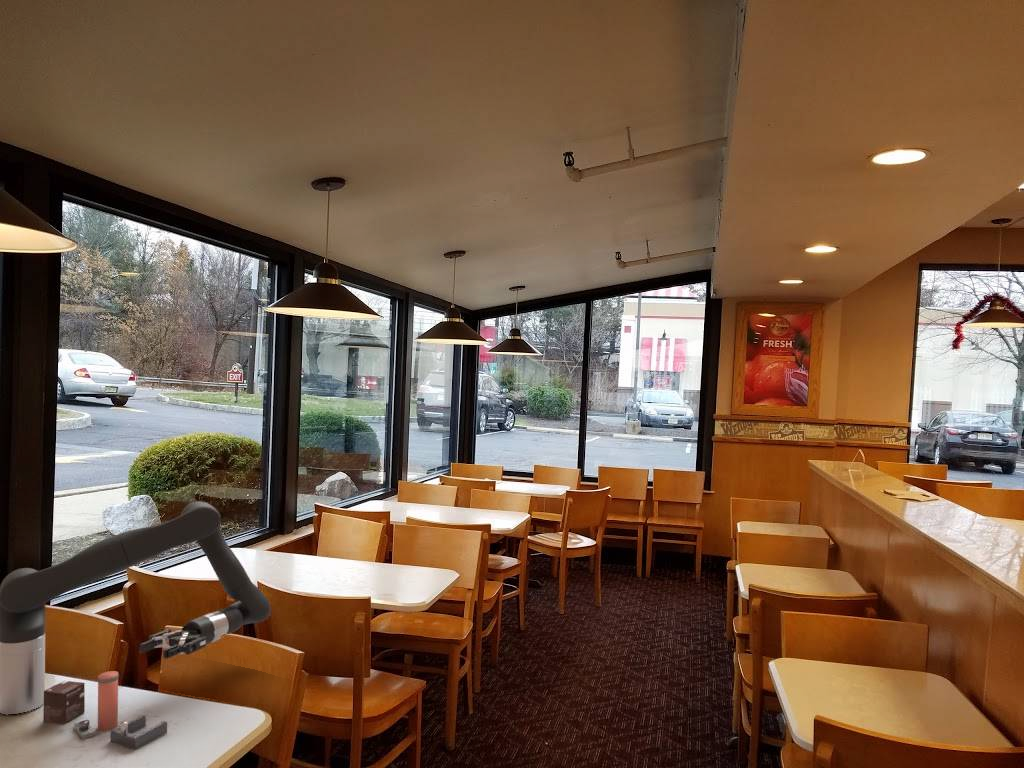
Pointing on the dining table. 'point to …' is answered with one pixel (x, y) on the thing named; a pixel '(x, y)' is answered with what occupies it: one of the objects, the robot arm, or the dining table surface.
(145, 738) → the bracket
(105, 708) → the post
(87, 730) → the plate
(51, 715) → the box
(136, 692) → the dining table surface
